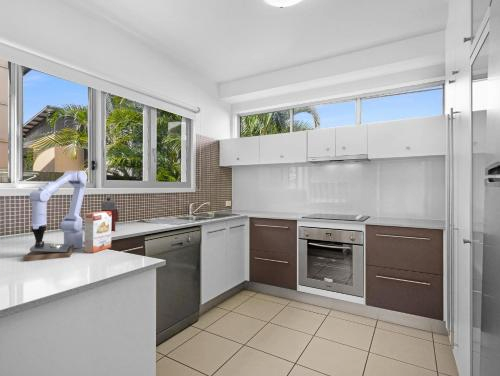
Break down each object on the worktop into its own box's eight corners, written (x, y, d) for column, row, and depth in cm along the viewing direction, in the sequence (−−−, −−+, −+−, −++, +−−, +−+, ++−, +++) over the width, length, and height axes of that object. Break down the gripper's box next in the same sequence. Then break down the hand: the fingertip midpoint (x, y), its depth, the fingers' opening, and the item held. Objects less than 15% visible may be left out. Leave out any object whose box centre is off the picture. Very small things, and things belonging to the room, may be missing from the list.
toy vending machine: (118, 231, 211) (118, 194, 211) (102, 232, 205) (102, 195, 205) (117, 229, 219) (117, 194, 219) (101, 230, 213) (101, 194, 213)
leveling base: (73, 250, 150) (73, 244, 150) (69, 257, 136) (69, 250, 136) (32, 253, 142) (32, 247, 142) (23, 261, 128) (23, 254, 128)
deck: (70, 246, 148) (71, 240, 148) (67, 252, 136) (68, 245, 137) (36, 245, 141) (37, 239, 142) (29, 250, 130) (30, 244, 130)
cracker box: (93, 253, 143) (93, 213, 143) (83, 252, 145) (83, 213, 144) (112, 247, 157) (112, 211, 157) (102, 247, 158) (103, 210, 158)
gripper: (33, 213, 141) (32, 239, 141) (24, 216, 128) (24, 245, 128) (49, 212, 144) (49, 238, 144) (43, 215, 131) (43, 243, 131)
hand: (39, 241), depth 136 cm, fingers closed, pressing on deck
